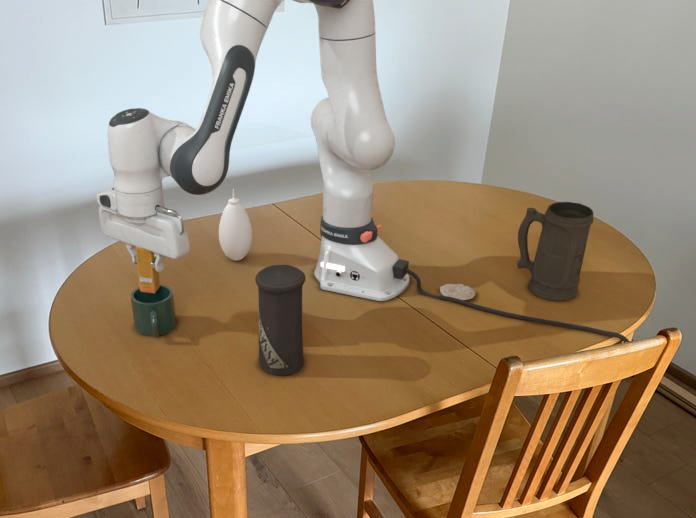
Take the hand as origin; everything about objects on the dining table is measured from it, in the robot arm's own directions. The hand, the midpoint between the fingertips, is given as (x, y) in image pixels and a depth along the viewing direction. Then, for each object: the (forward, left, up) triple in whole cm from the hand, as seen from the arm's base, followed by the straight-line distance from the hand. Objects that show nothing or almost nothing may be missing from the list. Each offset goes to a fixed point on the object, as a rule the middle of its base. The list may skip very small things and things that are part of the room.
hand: (148, 266), depth 141 cm
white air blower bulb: (+5, -34, -14) cm, 37 cm away
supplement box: (0, 0, -5) cm, 5 cm away
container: (-30, -3, -14) cm, 33 cm away
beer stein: (-62, -62, -14) cm, 89 cm away
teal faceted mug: (-1, +1, -14) cm, 14 cm away
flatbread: (-47, -48, -14) cm, 69 cm away
